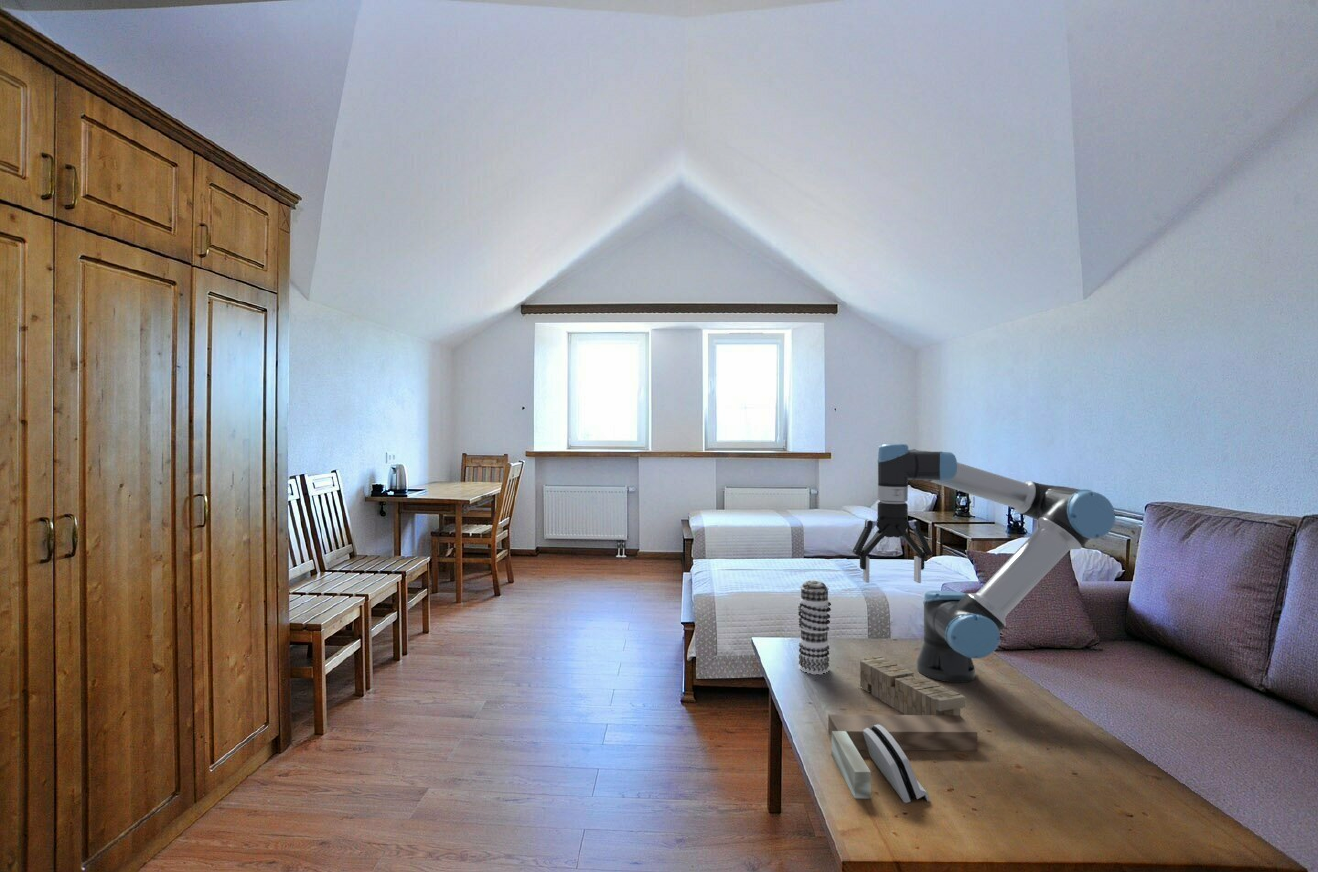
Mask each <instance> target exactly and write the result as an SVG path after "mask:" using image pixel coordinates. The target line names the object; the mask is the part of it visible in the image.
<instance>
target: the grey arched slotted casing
mask: <svg viewBox="0 0 1318 872" xmlns="http://www.w3.org/2000/svg"><path fill="white" fill-rule="evenodd" d="M863 735H864V738H865V741H866V744H867V747H868V750H867V751H868V753H869V756H870V758H871V760H872V761H873V762H874V764H875V765H876V767H877V768H878V769H879V771H880V772H881V773H882V775H883V776H884V777H885V778H886V780H887V781H888V783H889V784H890V785H891V786H892V788H893V789H894V791H895V792H896V794H897V795H898V796H899V797H900V798H901V800H902V801H903V802H904V803H905V804H907V803H912V802H911V801H912V797H913V798H914V799H915V798H916V800H919V799H921V798H922V797H923V798H924V799H925V800H926V801H927V802H931V799H930V796H929V794H928V791H926V790H925V789H926V788H924V787H923V785H922V784H921V783H920V782H919V781H918V780H917V777H916V776H915V772H914V771H913V770H914V769H913V767H912V764H911V762H910V760H909V757H907V755H906V753H905V752H904V750H902V749H901V748H900V746H899V745H898V743H897V742H896V741H895V739H894V738H893V737H892V736H891V734H890V733H889V732H888V731H887V730H886V729H885V728H884V727H883V726H881V725H879V724H878V725H873V727H872V729H871V728H866V729H864V730H863ZM911 795H912V796H911Z"/></svg>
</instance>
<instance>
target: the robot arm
mask: <svg viewBox="0 0 1318 872" xmlns="http://www.w3.org/2000/svg"><path fill="white" fill-rule="evenodd" d="M877 453H878V454H877V456H878V458H877V500H878V501H879V502H878V503H877V518H876V520H870V519H865V521H864V527H863V530H861V534H860V536H859V537H858V540H857V542H856V543H855V546H854V547H853V548H852V553H853V554H854V555H856V556H859V568H860V569H861V570H863V571H862V572H863V573H862V581H864V583H867V584H869V583H870V561H871V560H870V559H871V558H870V557H868V555H869V554H870V553H871V552H872V551H873V550H874V549H875V547H876V546H877V545H878V544H879V543H880V542H881V541H882V540H883V539H884V538H885V537H886V538H897V539H898V538H900V537H901V538H902V539H903V540H904V541H905V542H906V544H907V545H908V546H909V547H910V548H911V549H912V550H913V552H914V553H915V554H916V556H915V555H914V556H913V557H914V558H913V581H914V582H915V583H916V584H921V583H922V571H923V570H924V569H925V559H927V557H929V556H932V555H933V552H932V549H931V547H930V546H929V544H928V541H927V539H926V537H925V536H924V533H923V532H922V529H921V522H920V520H916V519H912V520H908V516H909V515H908V514H909V513H908V511H909V509H908V508H909V505H908V504H907V502H908V499H909V495H908V493H909V481H914V480H916V481H917V480H919V481H920V480H921V481H922V480H923V481H927V482H930V483H932V484H933V483H934V484H936V485H940V486H943V487H947V488H950V489H952V490H956V491H959V492H962V493H965V494H969V495H971V496H975V497H978V498H982V499H983V500H984V499H985V500H989V501H990V502H994V503H997V504H1000V505H1004V506H1007V507H1010V508H1013V509H1014V510H1015V512H1016V513H1018V514H1020V515H1022V516H1023V515H1024V516H1026V517H1029V518H1032V519H1034V520H1036V521H1038V525H1039V527H1038V528H1036V530H1035V531H1034V532H1033V533H1032V534H1031V535H1030V536H1029V537H1028V539H1026V540H1025V542H1024V543H1022V545H1021V546H1020V547H1019V548H1018V549H1017V550H1016V551H1015V552H1014V553H1013V554H1012V555H1011V556H1010V557H1009V558H1008V559H1007V560H1006V562H1005V563H1004V564H1003V565H1001V567H1000V568H999V569H998V570H997V571H996V572H995V573H994V574H993V575H992V576H991V577H990V578H989V579H988V581H987V582H985V583H984V584H983V586H982V587H981V588H980V589H979V590H978V591H977V592H974V593H973V592H969V593H968V592H967V593H966V592H962V591H954V590H953V591H951V590H928V591H926V592H925V593H924V598H923V643H922V646H921V648H920V652H919V654H918V657H917V660H916V670H917V671H918V672H919V673H920V674H922V675H924V677H925V676H926V677H928V678H931V679H933V680H937V681H943V682H949V683H967V682H972V681H973V680H974V679H975V678H976V668H975V664H974V661H973V659H982V658H986V657H988V656H990V655H991V654H993V653H994V652H995V651H996V650H997V648H998V646H999V645H1000V641H1001V640H1000V637H1001V635H1000V633H1001V632H1002V631H1003V630H1004V629H1005V628H1006V626H1007V623H1006V617H1007V615H1009V613H1011V612H1012V610H1014V608H1015V607H1016V606H1018V605H1019V603H1020V602H1022V600H1023V599H1024V598H1025V597H1026V596H1027V595H1028V594H1029V593H1030V592H1031V591H1032V590H1033V588H1035V586H1037V584H1038V583H1040V581H1041V580H1042V579H1043V578H1044V577H1045V576H1046V575H1047V574H1048V573H1049V572H1050V571H1051V570H1052V569H1053V568H1054V567H1055V566H1056V565H1057V564H1058V563H1059V561H1060V560H1062V559H1063V558H1064V556H1065V555H1066V554H1067V553H1068V552H1069V551H1071V550H1081V549H1082V548H1083V547H1084V546H1085V545H1086V544H1087V543H1088V542H1089V541H1090V540H1091V539H1093V540H1094V539H1098V538H1099V539H1100V538H1102V537H1104V536H1106V535H1108V534H1109V533H1110V532H1111V531H1112V529H1113V528H1114V526H1115V523H1116V522H1115V521H1116V516H1115V509H1114V506H1113V504H1112V503H1111V501H1110V500H1109V499H1108V498H1107V497H1106V496H1104V495H1103V494H1100V493H1099V492H1097V491H1093V490H1090V489H1081V488H1080V489H1079V488H1074V487H1070V486H1069V487H1068V486H1060V485H1050V484H1044V483H1039V482H1035V481H1031V480H1026V481H1024V482H1022V481H1019V480H1015V479H1013V478H1009V477H1006V476H1003V475H999V474H996V473H993V472H990V471H987V470H983V469H980V468H977V467H974V466H971V465H966V464H964V463H960V462H958V460H957V458H956V455H955V454H954V453H953V452H950V451H928V450H917V449H914V448H913V449H909V445H908V444H904V443H883V444H880V445H879V447H878V452H877ZM875 526H876V527H877V531H875V533H874V535H873V536H872V537H871V539H870V540H869V541H868V542H867V540H868V539H869V537H870V535H871V533H872V530H873V529H874V528H875ZM909 527H910V529H912V531H913V533H914V535H915V537H916V539H917V541H918V543H919V545H920V547H921V548H920V547H919V545H917V542H915V541H914V540H913V538H912V537H911V536H910V535H909V533H908V531H907V529H908V528H909ZM866 542H867V543H866Z"/></svg>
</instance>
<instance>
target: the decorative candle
mask: <svg viewBox="0 0 1318 872" xmlns="http://www.w3.org/2000/svg"><path fill="white" fill-rule="evenodd" d="M799 588H800V590H801V591H800V592H801V594H800V595H801V596H800V603H799V606H798V614H797V615H798V616H799V618H798V623H799V624H798V627H799V630H800V636H799V637H800V638H799V639H800V640H799V641H800V642H799V644H798V646H799V649H798V652H799V654H798V668H800V669H801V670H802V671H801V670H800V669H799V670H800V671H801V672H803V671H804V672H803V673H805V672H807V673H806V674H809V673H811V674H810V675H816V674H819V675H824V674H823V673H825V674H827V673H829V672H828V671H830V670H829V669H830V657H829V655H830V645H829V639H828V633H829V631H830V627H829V626H828V625H830V623H831V621H830V618H831V615H830V614H829V613H830V612H831V611H832V609H831V607H830V606H831V605H832V603H831V602H830V601H829V587H827V586H826V584H825V583H824V582H823V581H821V580H820V581H819V580H806V581H804V582H803V584H802V585H800V586H799ZM826 672H827V673H826Z"/></svg>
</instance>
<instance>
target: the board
mask: <svg viewBox="0 0 1318 872" xmlns="http://www.w3.org/2000/svg"><path fill="white" fill-rule="evenodd" d="M827 717H828V720H827V721H828V729H827V731H828V734H829V733H830V734H829V736H830V735H831V736H830V738H831V754H832V755H831V756H832V758H833V760H834V762H835V765H836V766H837V768H838V770H839V772H840V773H841V775H842V778H843V779H844V781H845V782H846V785H847V787H848V788H849V791H850V792H851V794H852V796H853V798H854V799H871V797H872V796H871V795H872V792H871V791H872V787H871V785H872V776H871V775H872V772H871V770H870V768H869V767H868V765H867V763H866V761H865V759H864V758H863V757H862V755H861V754H860V752H859V751H868V747H867V744H866V741H865V738H864V735H863V730H864V729H866V728H871V729H872V727H873V725H878V724H879V725H881V726H883V727H884V728H885V729H886V730H887V731H888V732H889V733H890V734H891V736H892V737H893V738H894V739H895V741H896V742H897V743H898V745H899V746H900V748H901V749H902V751H960V752H961V751H965V752H967V751H969V752H970V751H973V752H974V751H976V752H977V751H978V731H977V730H976V729H975V728H974V727H972V725H971V724H970V723H968V722H967V721H966V719H964V718H963V717H962V716H961V714H960V715H905V714H828V716H827Z"/></svg>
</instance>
